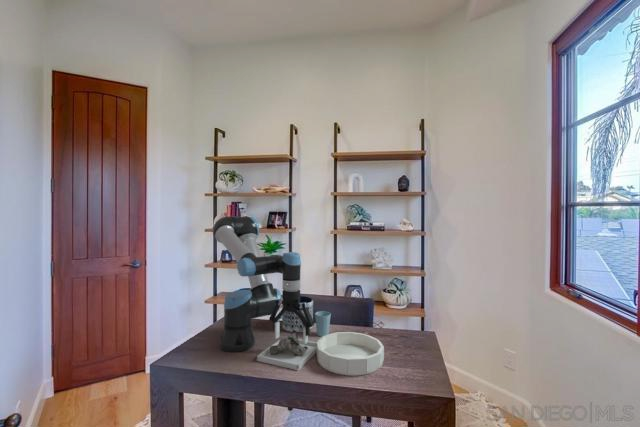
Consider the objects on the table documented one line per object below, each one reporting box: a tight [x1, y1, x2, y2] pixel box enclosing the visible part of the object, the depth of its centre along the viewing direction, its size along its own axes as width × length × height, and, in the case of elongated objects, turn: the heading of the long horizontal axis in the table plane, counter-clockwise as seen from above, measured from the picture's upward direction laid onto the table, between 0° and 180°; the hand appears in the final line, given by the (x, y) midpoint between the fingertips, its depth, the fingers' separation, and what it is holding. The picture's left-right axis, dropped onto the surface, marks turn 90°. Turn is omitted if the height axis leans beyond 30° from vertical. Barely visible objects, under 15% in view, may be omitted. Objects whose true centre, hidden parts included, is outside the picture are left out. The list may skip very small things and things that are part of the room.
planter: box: [281, 295, 314, 333], centre depth 162 cm, size 16×16×14 cm
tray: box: [256, 336, 317, 371], centre depth 130 cm, size 19×22×2 cm
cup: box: [314, 310, 332, 338], centre depth 152 cm, size 8×8×10 cm
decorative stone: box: [269, 330, 308, 356], centre depth 130 cm, size 16×9×10 cm, turn 84°
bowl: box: [316, 331, 385, 377], centre depth 126 cm, size 26×26×6 cm
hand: (291, 340), depth 130 cm, fingers open, 13 cm apart
